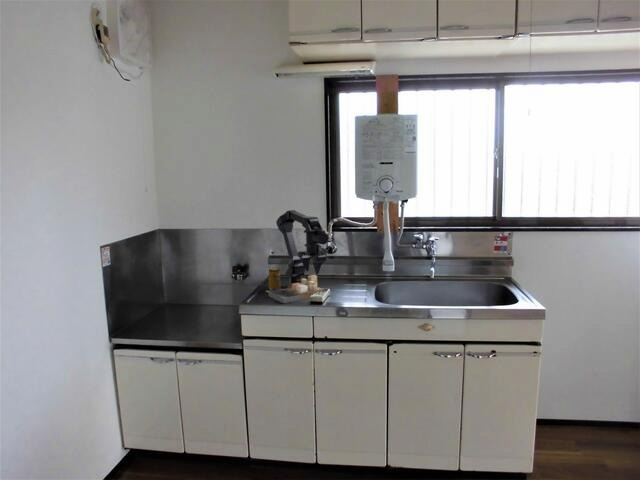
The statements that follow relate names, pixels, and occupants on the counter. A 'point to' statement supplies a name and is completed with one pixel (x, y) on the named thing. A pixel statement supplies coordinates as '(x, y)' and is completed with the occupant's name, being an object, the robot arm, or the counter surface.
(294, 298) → the tray
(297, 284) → the tile terracotta
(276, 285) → the condiment
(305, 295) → the plate
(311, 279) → the t-shaped wooden block
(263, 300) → the counter surface
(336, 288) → the counter surface
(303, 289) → the tile cream
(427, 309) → the counter surface
